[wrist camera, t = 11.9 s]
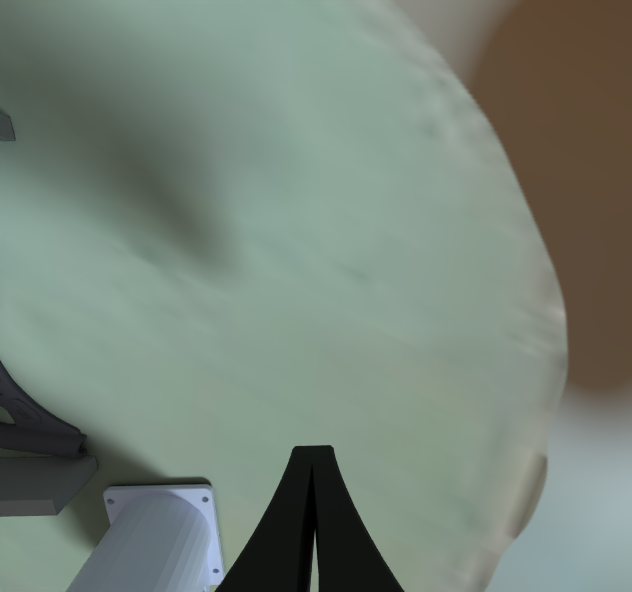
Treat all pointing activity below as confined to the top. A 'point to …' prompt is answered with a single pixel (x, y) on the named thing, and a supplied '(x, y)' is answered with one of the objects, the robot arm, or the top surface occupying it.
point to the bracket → (35, 425)
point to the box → (39, 461)
